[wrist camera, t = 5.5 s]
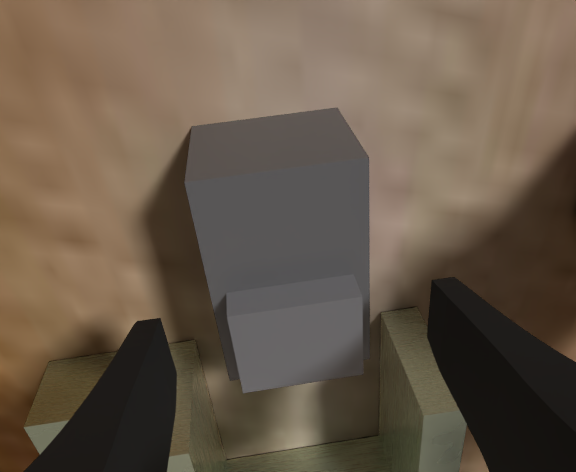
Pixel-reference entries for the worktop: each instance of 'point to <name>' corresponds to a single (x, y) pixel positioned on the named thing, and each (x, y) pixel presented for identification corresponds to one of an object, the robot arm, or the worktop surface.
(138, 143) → the worktop surface
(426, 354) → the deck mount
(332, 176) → the stepped gray box
